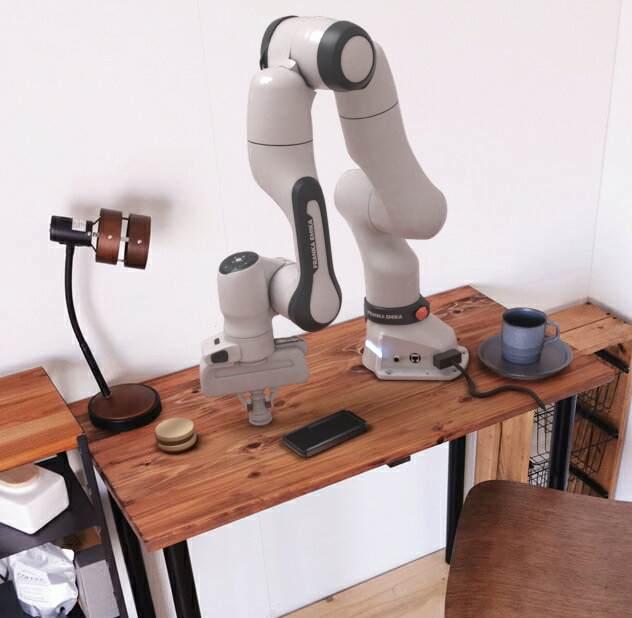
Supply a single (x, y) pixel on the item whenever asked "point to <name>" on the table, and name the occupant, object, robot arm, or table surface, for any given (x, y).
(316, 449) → the phone
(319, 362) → the table surface
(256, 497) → the table surface
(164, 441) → the chip pile
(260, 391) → the rook chess piece
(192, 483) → the table surface
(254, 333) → the robot arm
